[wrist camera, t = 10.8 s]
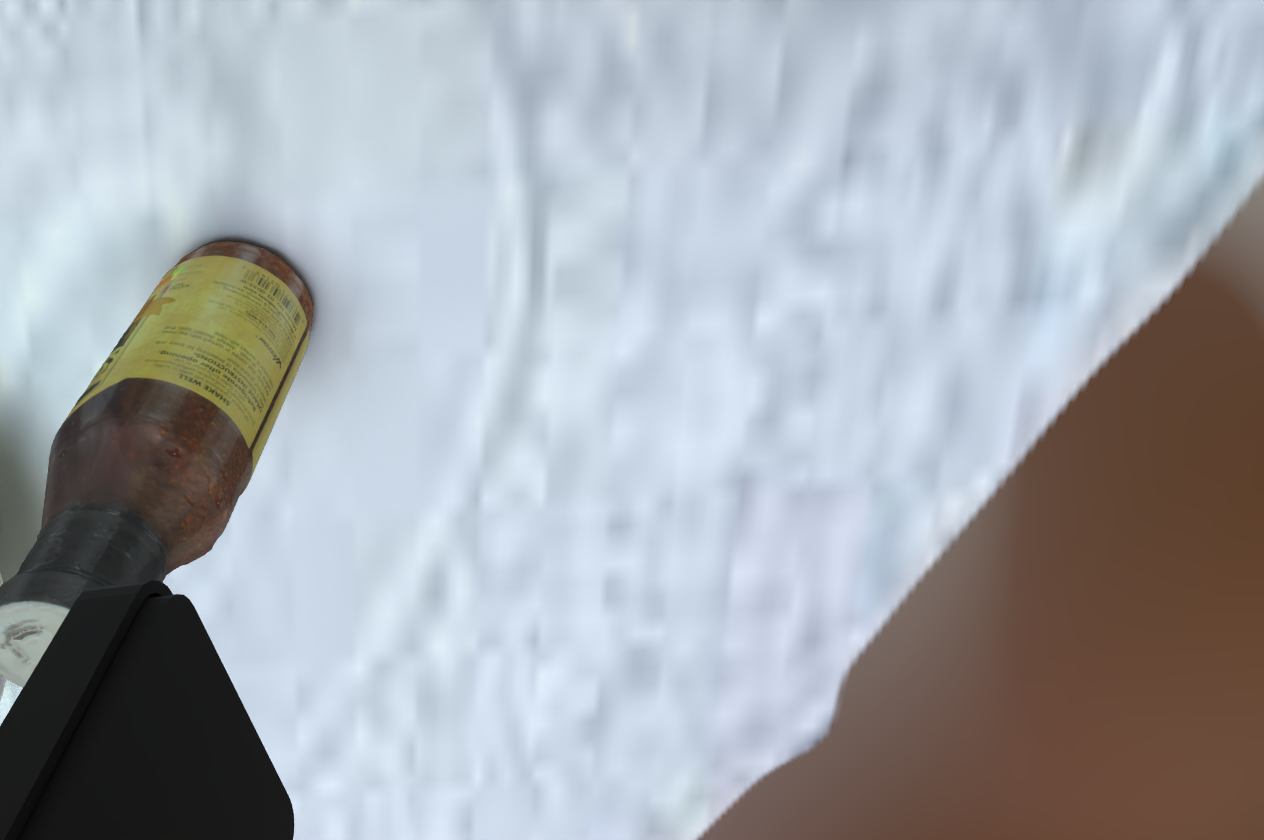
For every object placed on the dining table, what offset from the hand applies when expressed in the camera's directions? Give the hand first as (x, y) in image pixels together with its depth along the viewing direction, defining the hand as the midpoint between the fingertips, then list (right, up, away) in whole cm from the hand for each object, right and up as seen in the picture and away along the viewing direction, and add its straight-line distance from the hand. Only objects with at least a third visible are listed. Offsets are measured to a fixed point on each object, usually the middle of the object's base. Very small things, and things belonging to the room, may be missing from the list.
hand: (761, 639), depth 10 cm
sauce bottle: (-17, +7, +39) cm, 44 cm away
